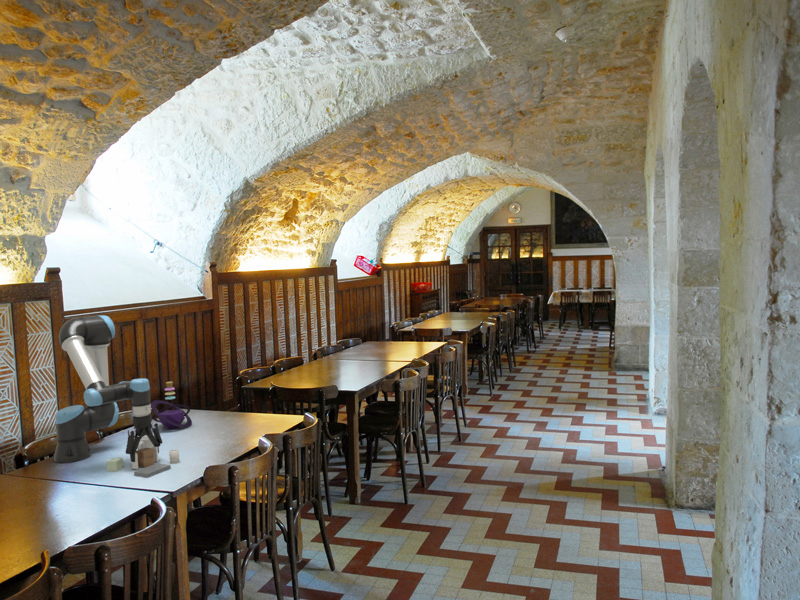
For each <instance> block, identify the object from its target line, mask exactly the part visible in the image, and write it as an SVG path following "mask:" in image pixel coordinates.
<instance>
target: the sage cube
mask: <svg viewBox="0 0 800 600" xmlns="http://www.w3.org/2000/svg"><path fill="white" fill-rule="evenodd" d="M106 469H107V470H106V471H107V472H109V473H110V472H119V471H121V470H122V469H124V460H123V457H112V458H110V459H108V460H106Z"/></svg>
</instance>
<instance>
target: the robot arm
mask: <svg viewBox="0 0 800 600" xmlns="http://www.w3.org/2000/svg"><path fill="white" fill-rule="evenodd" d="M115 335H116V328H115V324H114V322H113V320H112V318H110V317H109V316H107V315H92V316H91V315H90V316H89V315H88V316H82V317H80V316H79V317H73V318H70V319H68V320H67V321H65V322H64V324H63V325H62V326H61V327H60V330H59V333H58V341H59V344H60V347H61V349H62V350H63V351H65V352H67V355H68V356H69V359H70V360H71V363H72V365H73V366H74V369H75V370H76V372H77V374H78V376H79V378H80V380H81V383H82V384H83V386H84V388H85V391H84V392H83V400H84V403H85V406H84V405H82V404H74V405H70V406H66V407H64V408H61V409H59V410H58V411H57V412H56V413H55V422H54V423H55V429H56V443H57V445H56V447H55V451H54V456H53V457H54V458H53V460H54V463H59V464H65V463H66V464H67V463H73V462H79V461H82V460H85V459H88V458H90V457H91V456H92V449H91V447H90V445H89V443H88V441H87V439H86V437H87V436H86V433H89V432H94V431H98V430H102V429H108V428H110V427H112V426H114V425H115V424H117V422H118V420H119V415H120V410H119V406H118V403H117V402H121V401H122V402H123V401H125V400H126V401H127V400H131V412H132V423H133V426H134V427H133V429H131V430H130V429H128V430H127V436H128V437H127V440H126V442H127V443H126V447H125V454H126V455H129V456H130V457H129V458H130V462H131V465H132V467H131V468H132V469H133V470H139V467H138V458H137V454H136V451H137V450H138V449H137V448H138V445H139V442H140V439H142V437H143V436H145V435H147V436H148V438H149V439H150V441H151V442H152V444H153V445H154V446H153V447H152V449H153V454H154V463H155V462H156V463H159V460H160V459H159V453H160V447H161V445H162V444H163V439H162V436H161V433H160V430H159V427H158V426H159V425H158V422H157V423H156V422H153V416H152V414H151V413H152V408H151V389H150V388H151V387H150V381H149V379H148V378H134V379H131V380H130V381H129V380H126V381H125V380H124V381H120V382H119V383H116V384H111V385H110V382H109V361H108V357H109V356H108V347H109V346H110V345H111V340H112V339H114V338H115V337H116V336H115ZM154 436H155V437H154Z"/></svg>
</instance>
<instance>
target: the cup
mask: <svg viewBox="0 0 800 600" xmlns="http://www.w3.org/2000/svg"><path fill="white" fill-rule="evenodd" d="M154 437H155V436H154ZM153 446H154V445H153V444H152V442H151V441H150V439H149V438H148V436H147V435H145V436H143V437H142V439H140V442H139V445H138V448H137V450H140V449H142V448H152V447H153Z"/></svg>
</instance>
